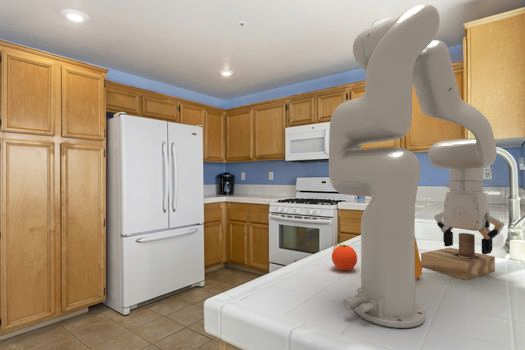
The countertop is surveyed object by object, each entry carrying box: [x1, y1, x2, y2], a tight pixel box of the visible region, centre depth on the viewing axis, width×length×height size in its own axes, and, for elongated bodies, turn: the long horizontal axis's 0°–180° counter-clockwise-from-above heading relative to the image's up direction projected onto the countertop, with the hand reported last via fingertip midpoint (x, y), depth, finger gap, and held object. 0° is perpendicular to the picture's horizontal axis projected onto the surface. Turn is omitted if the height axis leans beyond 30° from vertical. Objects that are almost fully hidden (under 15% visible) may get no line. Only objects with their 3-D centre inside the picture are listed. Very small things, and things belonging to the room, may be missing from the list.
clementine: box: [331, 243, 358, 271], centre depth 83 cm, size 8×7×7 cm
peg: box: [458, 232, 476, 259], centre depth 82 cm, size 4×4×10 cm
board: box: [420, 246, 496, 280], centre depth 83 cm, size 14×12×4 cm
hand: (466, 249), depth 82 cm, fingers open, 9 cm apart
